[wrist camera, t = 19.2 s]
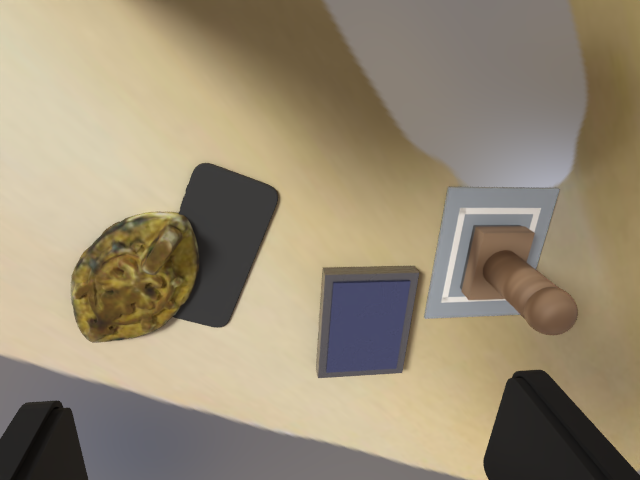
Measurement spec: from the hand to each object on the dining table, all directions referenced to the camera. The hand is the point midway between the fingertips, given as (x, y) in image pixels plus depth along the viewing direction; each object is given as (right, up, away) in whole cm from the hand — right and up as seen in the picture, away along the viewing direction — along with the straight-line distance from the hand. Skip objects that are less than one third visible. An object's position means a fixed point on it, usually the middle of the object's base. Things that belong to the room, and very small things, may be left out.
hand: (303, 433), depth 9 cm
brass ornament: (-16, +1, +29) cm, 33 cm away
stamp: (+17, +3, +33) cm, 37 cm away
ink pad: (+5, -4, +34) cm, 34 cm away
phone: (-9, +4, +29) cm, 31 cm away
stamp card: (+17, +3, +33) cm, 37 cm away
